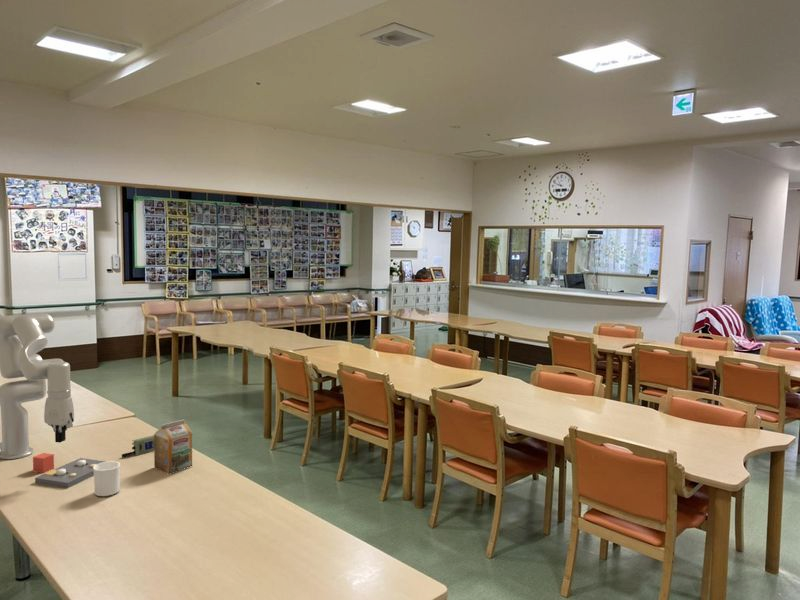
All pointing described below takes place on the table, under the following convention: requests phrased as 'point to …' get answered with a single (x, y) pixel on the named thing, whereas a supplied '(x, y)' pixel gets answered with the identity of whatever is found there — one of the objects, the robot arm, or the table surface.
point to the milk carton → (173, 447)
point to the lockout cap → (43, 462)
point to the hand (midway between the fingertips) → (60, 441)
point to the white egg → (81, 463)
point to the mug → (106, 478)
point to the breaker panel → (69, 474)
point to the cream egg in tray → (60, 472)
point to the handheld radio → (142, 446)
